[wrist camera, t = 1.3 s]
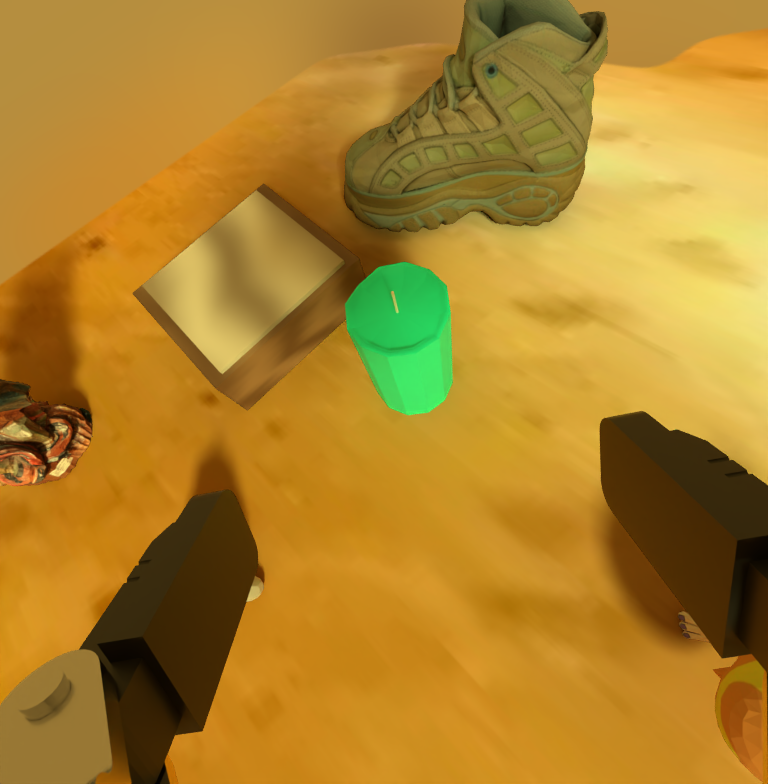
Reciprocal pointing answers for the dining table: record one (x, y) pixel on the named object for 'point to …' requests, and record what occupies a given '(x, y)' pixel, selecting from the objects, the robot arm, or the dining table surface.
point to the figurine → (38, 437)
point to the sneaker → (488, 124)
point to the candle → (403, 335)
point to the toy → (737, 703)
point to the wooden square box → (253, 295)
